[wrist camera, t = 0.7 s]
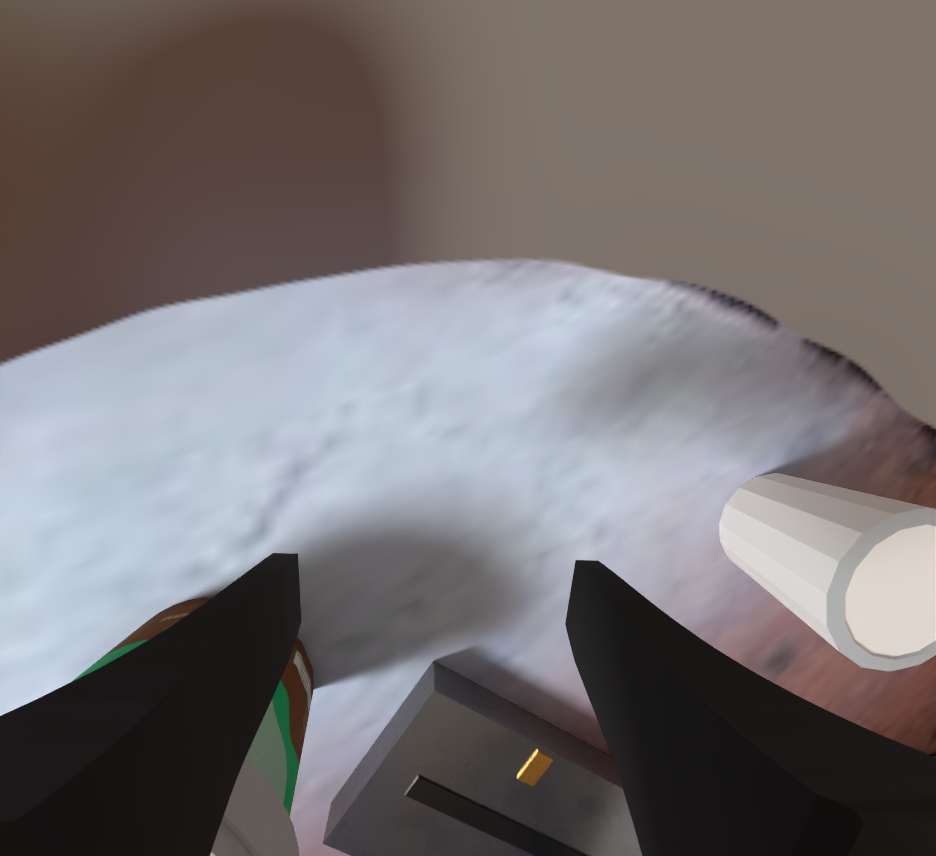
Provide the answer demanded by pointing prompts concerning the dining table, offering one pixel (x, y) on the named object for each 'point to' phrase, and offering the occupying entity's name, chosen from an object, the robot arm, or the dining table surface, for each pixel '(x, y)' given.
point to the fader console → (479, 783)
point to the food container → (254, 753)
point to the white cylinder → (841, 564)
